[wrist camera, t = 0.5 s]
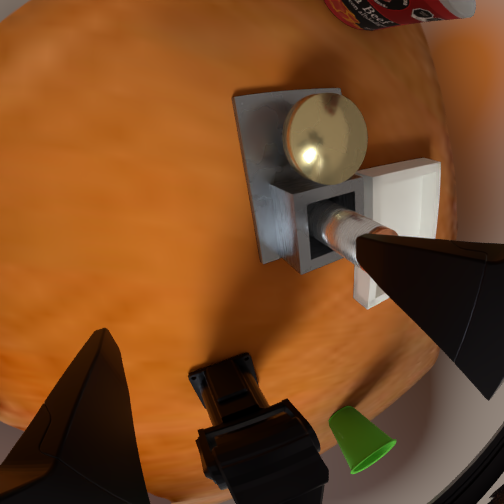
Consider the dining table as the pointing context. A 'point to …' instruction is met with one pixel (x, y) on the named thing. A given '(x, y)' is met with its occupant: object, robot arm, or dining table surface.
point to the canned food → (397, 12)
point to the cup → (359, 438)
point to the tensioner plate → (285, 183)
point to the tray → (398, 209)
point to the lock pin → (341, 227)
